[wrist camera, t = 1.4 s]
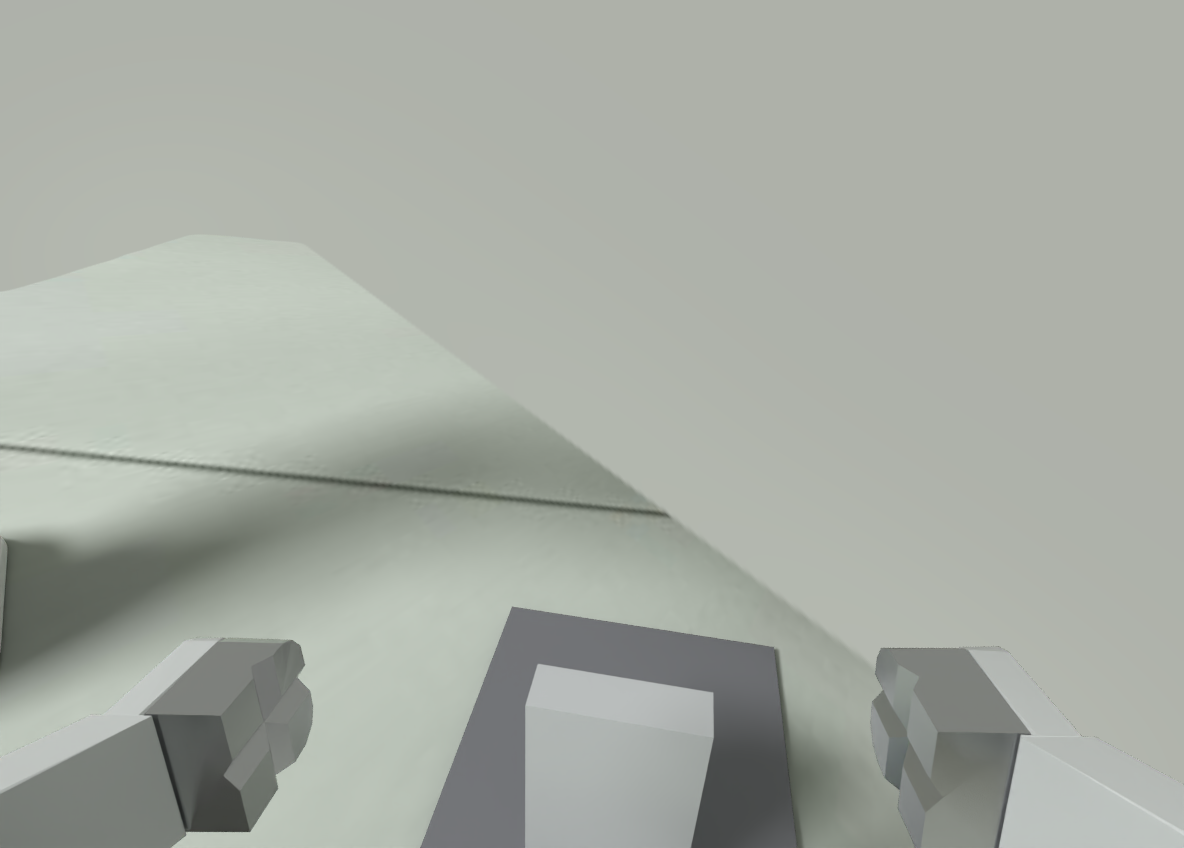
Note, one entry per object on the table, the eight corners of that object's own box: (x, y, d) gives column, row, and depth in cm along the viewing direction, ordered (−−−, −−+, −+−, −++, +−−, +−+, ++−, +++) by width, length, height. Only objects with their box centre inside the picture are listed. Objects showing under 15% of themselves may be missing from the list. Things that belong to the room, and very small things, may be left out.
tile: (676, 913, 29) (713, 737, 23) (525, 882, 30) (525, 705, 24) (679, 863, 31) (713, 689, 25) (536, 835, 32) (538, 660, 26)
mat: (822, 1102, 24) (825, 1096, 24) (368, 996, 26) (366, 989, 26) (772, 653, 44) (774, 647, 43) (512, 613, 46) (512, 606, 45)
